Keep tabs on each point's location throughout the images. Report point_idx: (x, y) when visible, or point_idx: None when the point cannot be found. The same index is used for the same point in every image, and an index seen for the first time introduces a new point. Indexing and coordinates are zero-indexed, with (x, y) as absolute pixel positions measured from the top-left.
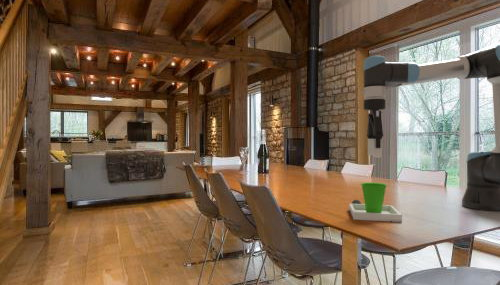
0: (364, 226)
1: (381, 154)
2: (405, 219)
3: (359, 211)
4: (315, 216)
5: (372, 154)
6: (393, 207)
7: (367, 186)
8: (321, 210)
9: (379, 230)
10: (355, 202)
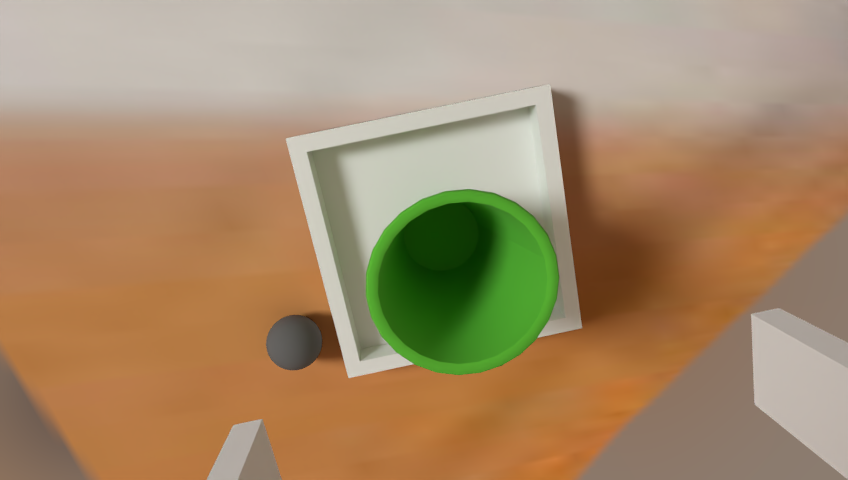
0: (679, 254)
1: (811, 329)
2: (466, 65)
3: None
4: (566, 471)
5: (269, 464)
6: (355, 130)
7: (538, 321)
8: (429, 477)
9: (728, 188)
10: (315, 351)
